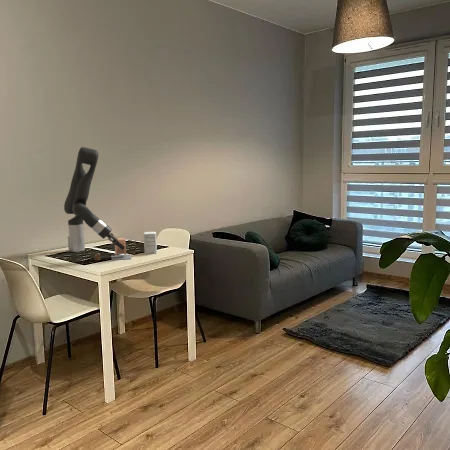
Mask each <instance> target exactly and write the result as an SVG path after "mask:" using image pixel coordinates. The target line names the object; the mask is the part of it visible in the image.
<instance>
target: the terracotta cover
mask: <svg viewBox="0 0 450 450" xmlns="http://www.w3.org/2000/svg"><path fill="white" fill-rule="evenodd" d="M117 238H118V241H119V242H120V243H121V244H122V245H123V246H124V247H125V248H124V249H123V250H122V249H121V248H119V247H118V246H116V245H115V244H114V254H115V255H114V256H117V255H127V245H126V238H125V237H117ZM115 243H117V241H116V242H115Z"/></svg>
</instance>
